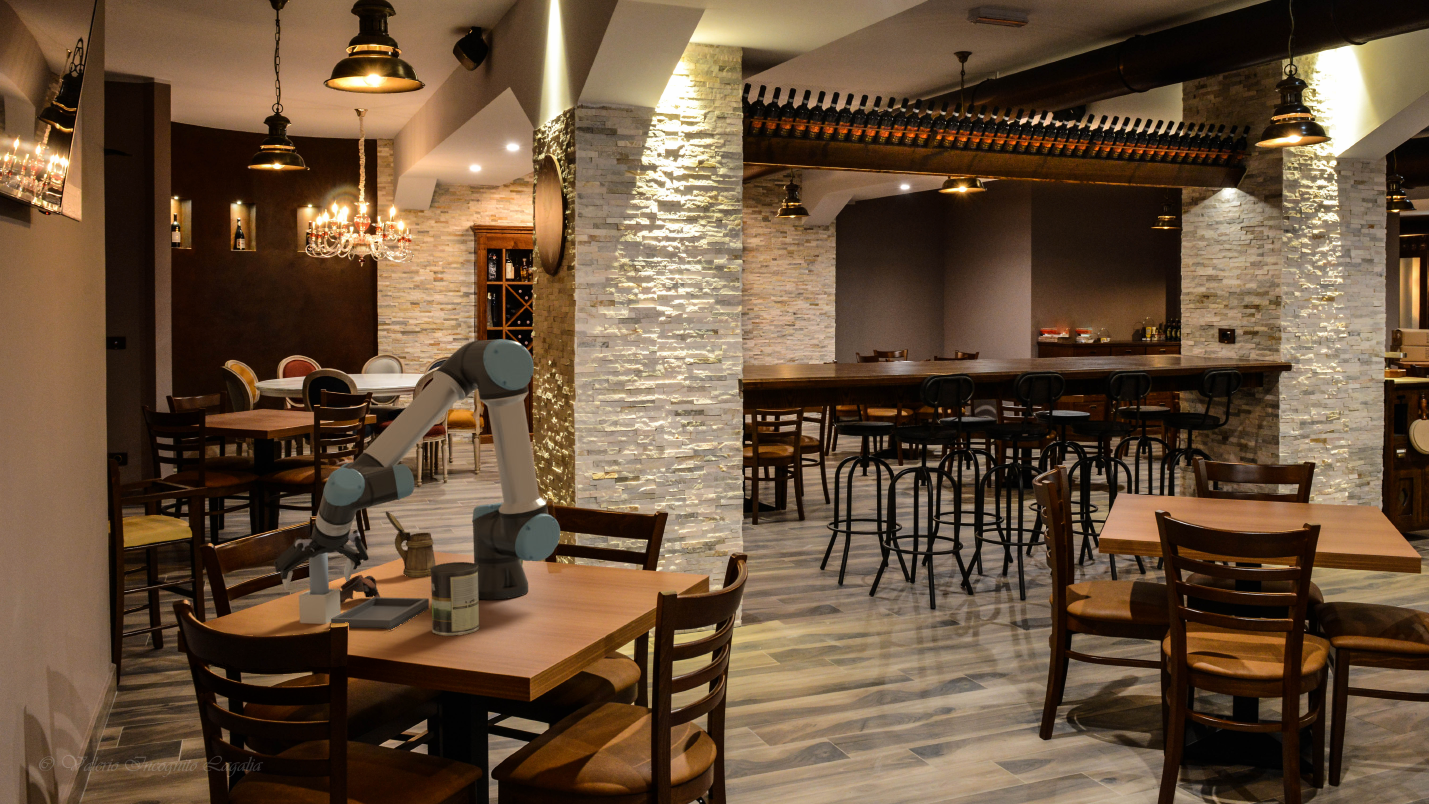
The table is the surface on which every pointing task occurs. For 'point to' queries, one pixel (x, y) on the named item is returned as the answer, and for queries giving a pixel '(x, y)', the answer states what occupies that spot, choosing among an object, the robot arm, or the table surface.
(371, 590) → the brown curved piece
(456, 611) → the coffee can
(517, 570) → the robot arm
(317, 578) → the dowel
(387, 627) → the tray
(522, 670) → the table surface
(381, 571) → the table surface
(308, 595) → the cube pedestal base
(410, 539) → the wooden mug
